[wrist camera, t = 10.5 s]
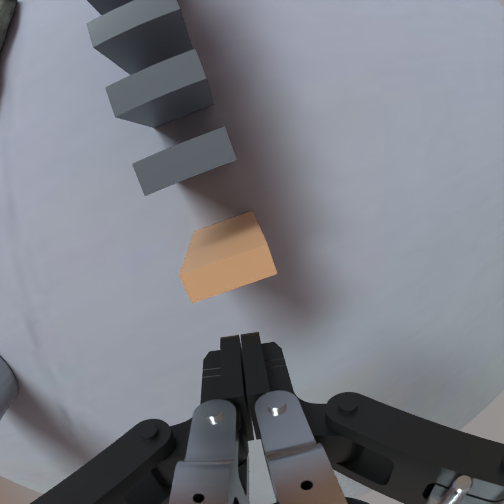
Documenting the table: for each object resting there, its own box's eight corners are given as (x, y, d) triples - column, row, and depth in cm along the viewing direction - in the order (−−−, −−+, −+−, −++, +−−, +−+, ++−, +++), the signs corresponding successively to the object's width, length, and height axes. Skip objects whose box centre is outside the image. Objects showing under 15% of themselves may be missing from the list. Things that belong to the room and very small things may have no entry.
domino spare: (259, 230, 26) (277, 273, 17) (202, 251, 27) (192, 303, 18) (252, 210, 26) (267, 243, 17) (194, 231, 26) (179, 275, 17)
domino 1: (232, 156, 24) (237, 159, 15) (173, 179, 25) (145, 196, 16) (224, 135, 24) (224, 126, 15) (165, 158, 24) (132, 164, 15)
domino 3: (195, 56, 22) (180, 8, 13) (136, 79, 22) (93, 47, 13) (188, 38, 21) (171, -15, 12) (130, 62, 21) (86, 23, 12)
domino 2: (213, 104, 23) (206, 78, 14) (154, 128, 23) (115, 117, 14) (205, 84, 22) (195, 48, 13) (146, 108, 23) (105, 87, 14)
